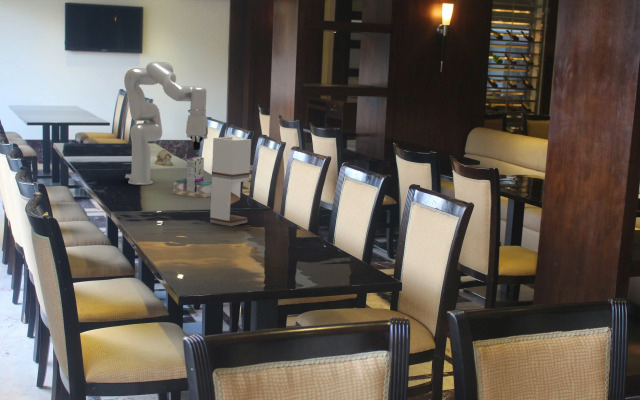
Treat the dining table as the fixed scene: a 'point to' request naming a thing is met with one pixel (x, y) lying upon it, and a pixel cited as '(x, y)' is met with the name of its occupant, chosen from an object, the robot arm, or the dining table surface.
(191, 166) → the candy bar box
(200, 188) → the rail board
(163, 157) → the ceramic model
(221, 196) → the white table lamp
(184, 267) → the dining table surface
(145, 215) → the dining table surface
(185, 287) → the dining table surface
